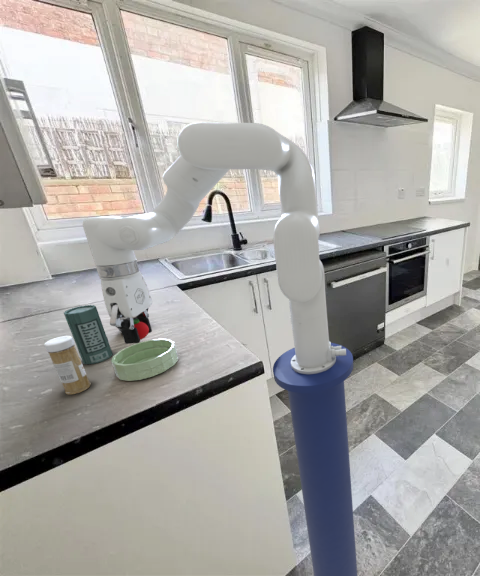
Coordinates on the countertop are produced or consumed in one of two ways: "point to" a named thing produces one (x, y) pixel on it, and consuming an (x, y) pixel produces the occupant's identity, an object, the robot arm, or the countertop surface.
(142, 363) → the bowl
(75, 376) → the sprinkles bottle
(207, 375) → the countertop surface
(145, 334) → the tomato
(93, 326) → the can
